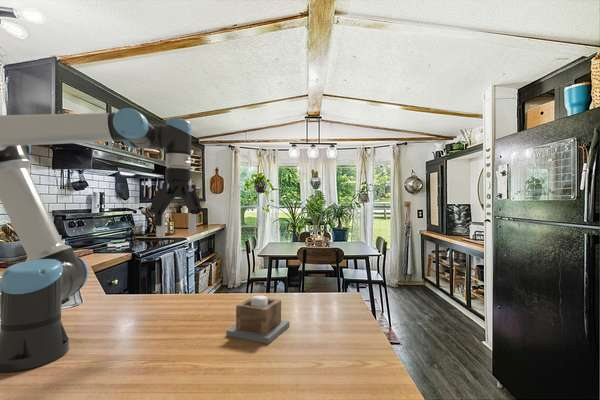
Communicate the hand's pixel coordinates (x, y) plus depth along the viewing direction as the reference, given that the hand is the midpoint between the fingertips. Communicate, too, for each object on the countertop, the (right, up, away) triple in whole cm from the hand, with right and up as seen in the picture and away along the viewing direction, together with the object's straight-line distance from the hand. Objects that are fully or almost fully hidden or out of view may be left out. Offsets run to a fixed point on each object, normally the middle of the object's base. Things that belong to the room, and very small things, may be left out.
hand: (177, 235), depth 100 cm
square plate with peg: (+27, -29, -4) cm, 39 cm away
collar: (+27, -27, -4) cm, 38 cm away
